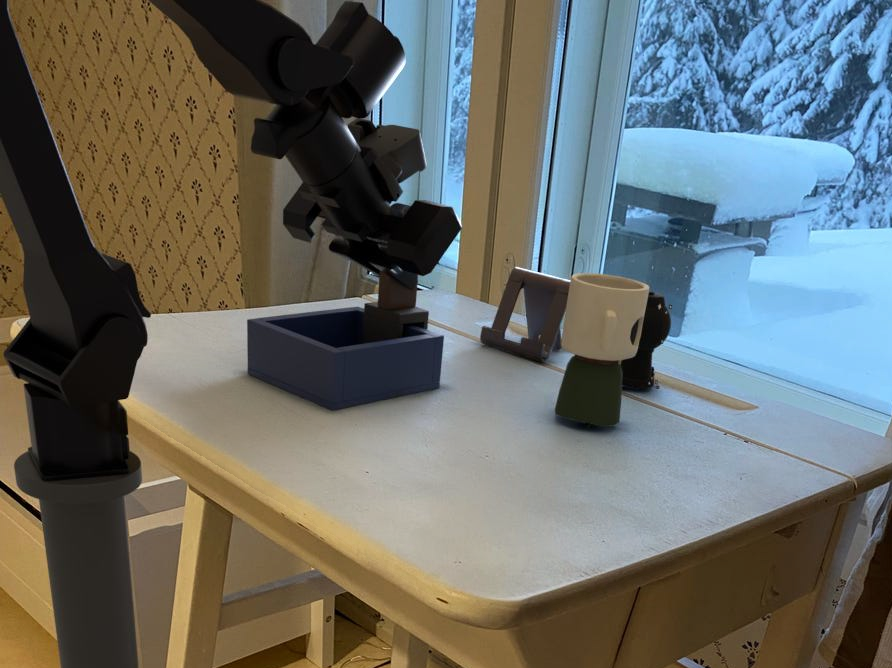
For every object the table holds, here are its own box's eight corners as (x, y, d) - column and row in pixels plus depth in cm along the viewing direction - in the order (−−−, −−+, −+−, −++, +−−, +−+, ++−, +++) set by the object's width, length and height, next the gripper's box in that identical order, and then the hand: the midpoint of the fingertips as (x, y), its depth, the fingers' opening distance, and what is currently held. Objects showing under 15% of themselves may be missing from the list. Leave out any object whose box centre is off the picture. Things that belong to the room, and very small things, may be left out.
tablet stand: (477, 344, 113) (486, 270, 109) (515, 336, 119) (524, 265, 115) (539, 363, 109) (551, 287, 105) (575, 354, 115) (587, 281, 111)
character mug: (628, 445, 88) (658, 298, 81) (551, 436, 88) (575, 288, 81) (616, 408, 97) (642, 274, 91) (546, 400, 97) (567, 265, 91)
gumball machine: (672, 393, 105) (693, 298, 100) (632, 398, 102) (652, 300, 96) (631, 375, 109) (649, 283, 104) (591, 379, 106) (608, 284, 101)
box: (332, 410, 87) (334, 352, 84) (247, 373, 93) (246, 319, 91) (439, 387, 97) (444, 335, 94) (355, 356, 103) (357, 306, 101)
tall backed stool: (396, 361, 96) (405, 226, 89) (361, 348, 98) (368, 216, 92) (425, 355, 99) (436, 225, 92) (391, 343, 101) (399, 215, 95)
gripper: (459, 101, 79) (523, 240, 92) (309, 77, 89) (386, 205, 102) (384, 206, 78) (460, 331, 91) (240, 170, 87) (327, 288, 100)
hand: (407, 284), depth 96 cm, fingers closed on tall backed stool
